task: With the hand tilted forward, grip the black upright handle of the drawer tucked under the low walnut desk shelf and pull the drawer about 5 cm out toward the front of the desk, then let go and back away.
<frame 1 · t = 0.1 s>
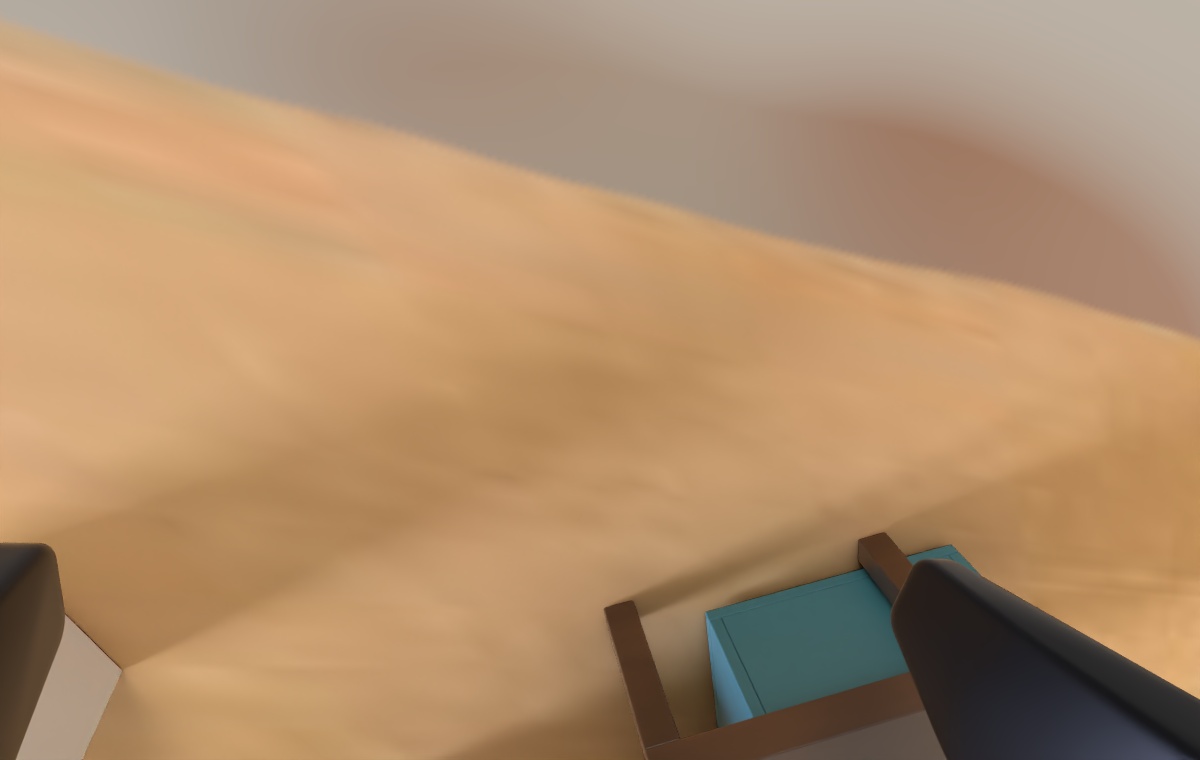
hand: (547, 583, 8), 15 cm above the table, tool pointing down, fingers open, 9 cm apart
shelf: (753, 668, 32), on the table
drawer: (945, 757, 27), point 6 cm above the table, slide at 0.0 cm
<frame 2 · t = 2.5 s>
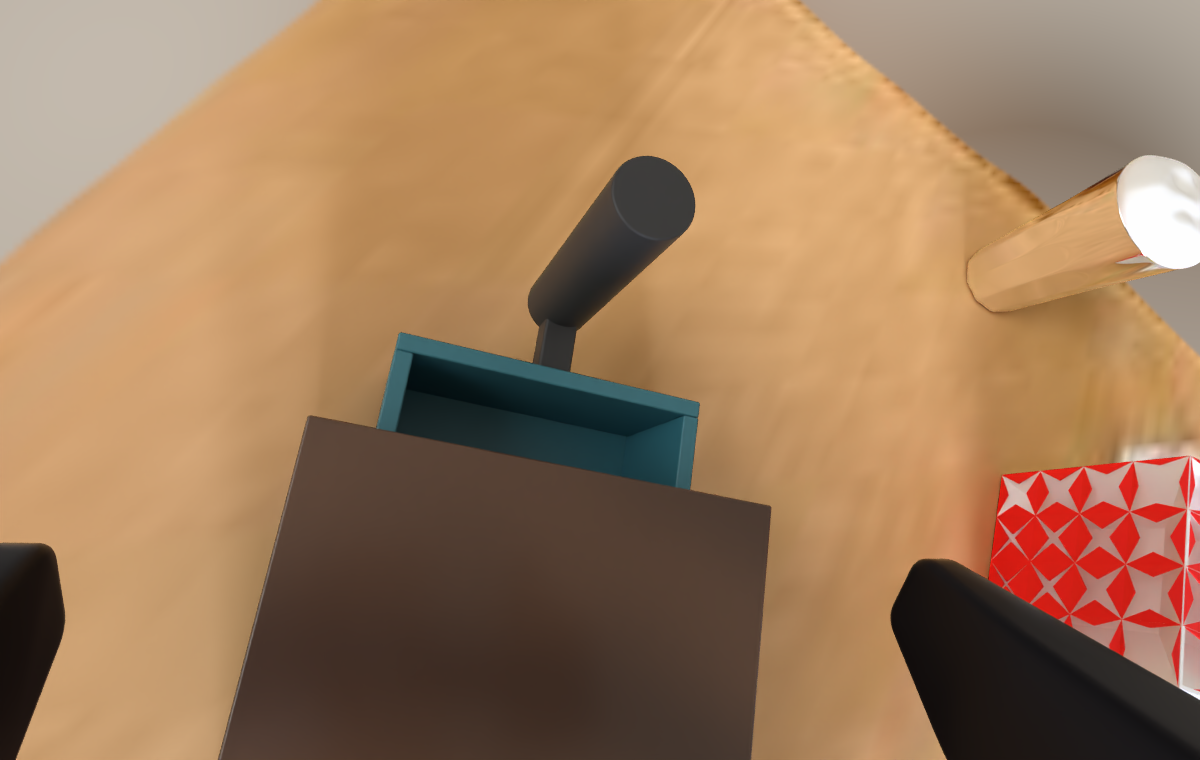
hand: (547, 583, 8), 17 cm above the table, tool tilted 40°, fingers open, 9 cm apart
red patterned cube box: (1053, 587, 33), on the table
shelf: (468, 668, 24), on the table
milkshake: (994, 282, 35), on the table
drawer: (541, 497, 19), point 6 cm above the table, slide at 0.0 cm
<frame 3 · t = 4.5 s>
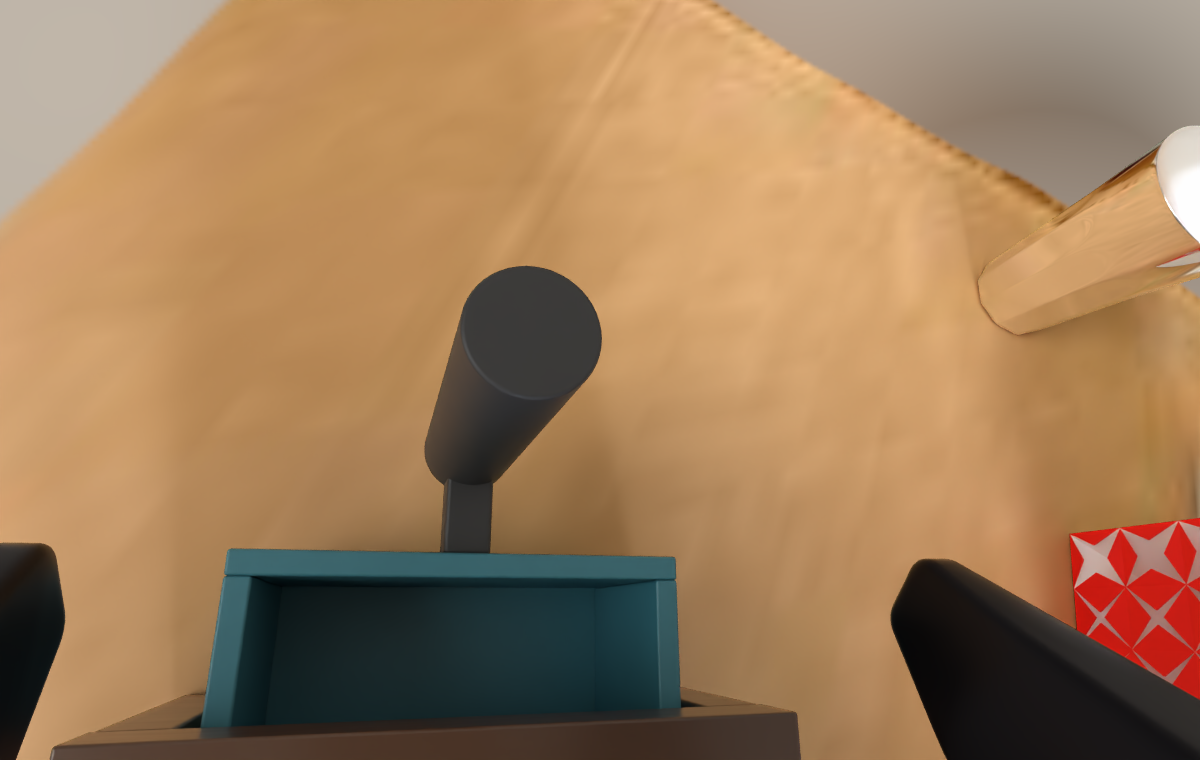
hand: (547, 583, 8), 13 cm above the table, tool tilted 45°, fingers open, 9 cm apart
red patterned cube box: (1159, 664, 26), on the table
milkshake: (1013, 299, 30), on the table
drawer: (462, 759, 13), point 6 cm above the table, slide at 0.0 cm
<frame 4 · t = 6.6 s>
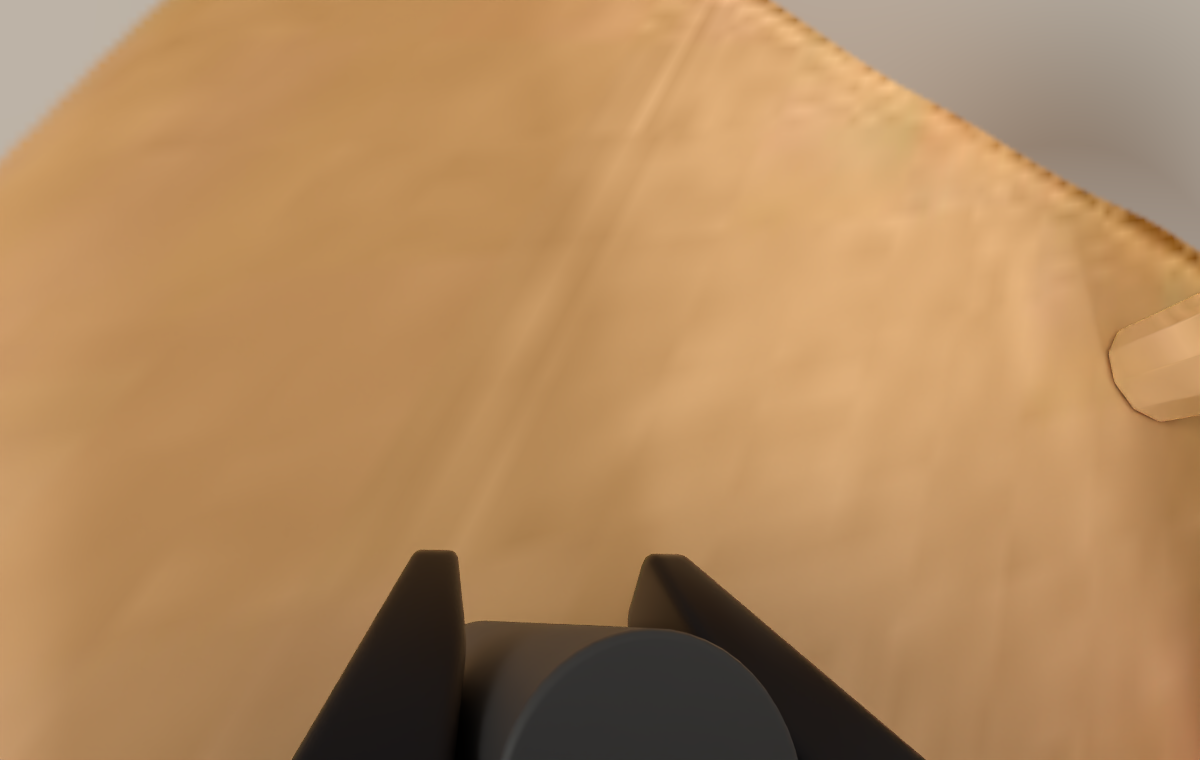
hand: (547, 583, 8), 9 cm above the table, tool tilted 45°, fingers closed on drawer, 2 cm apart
milkshake: (1148, 373, 24), on the table
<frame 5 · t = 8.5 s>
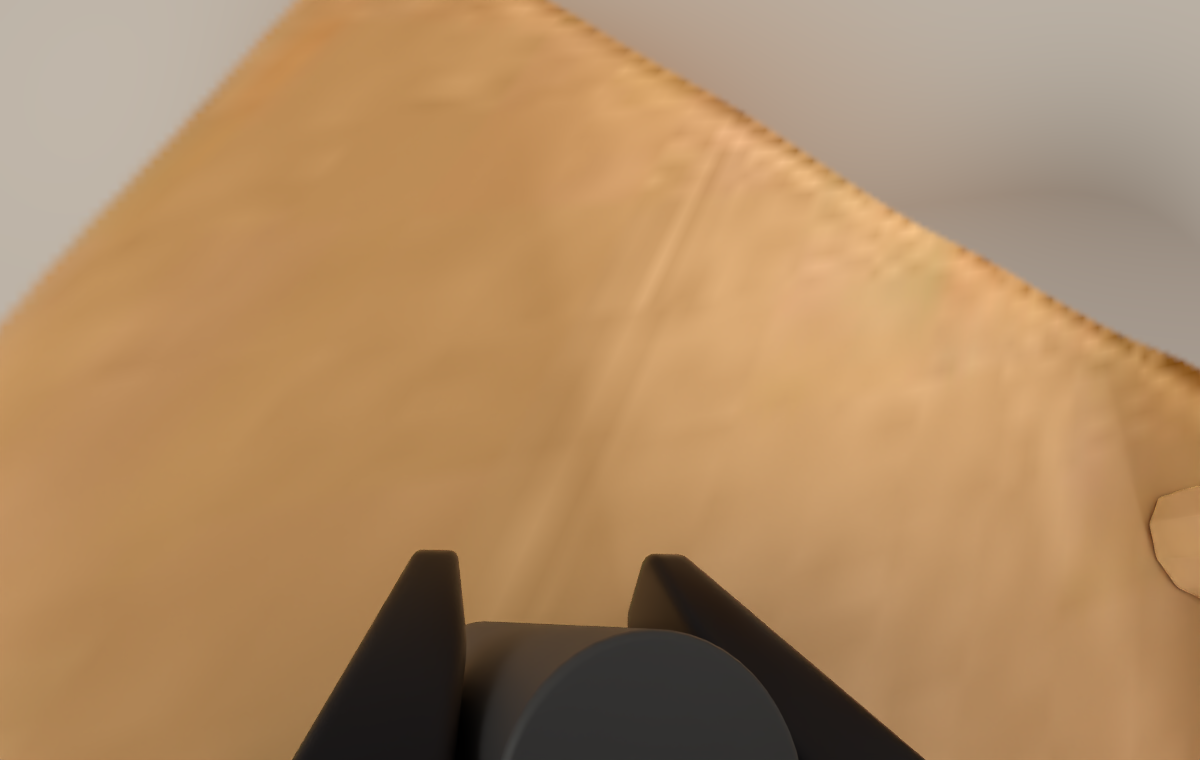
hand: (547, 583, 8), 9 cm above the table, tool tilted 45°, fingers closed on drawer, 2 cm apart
milkshake: (1191, 541, 22), on the table
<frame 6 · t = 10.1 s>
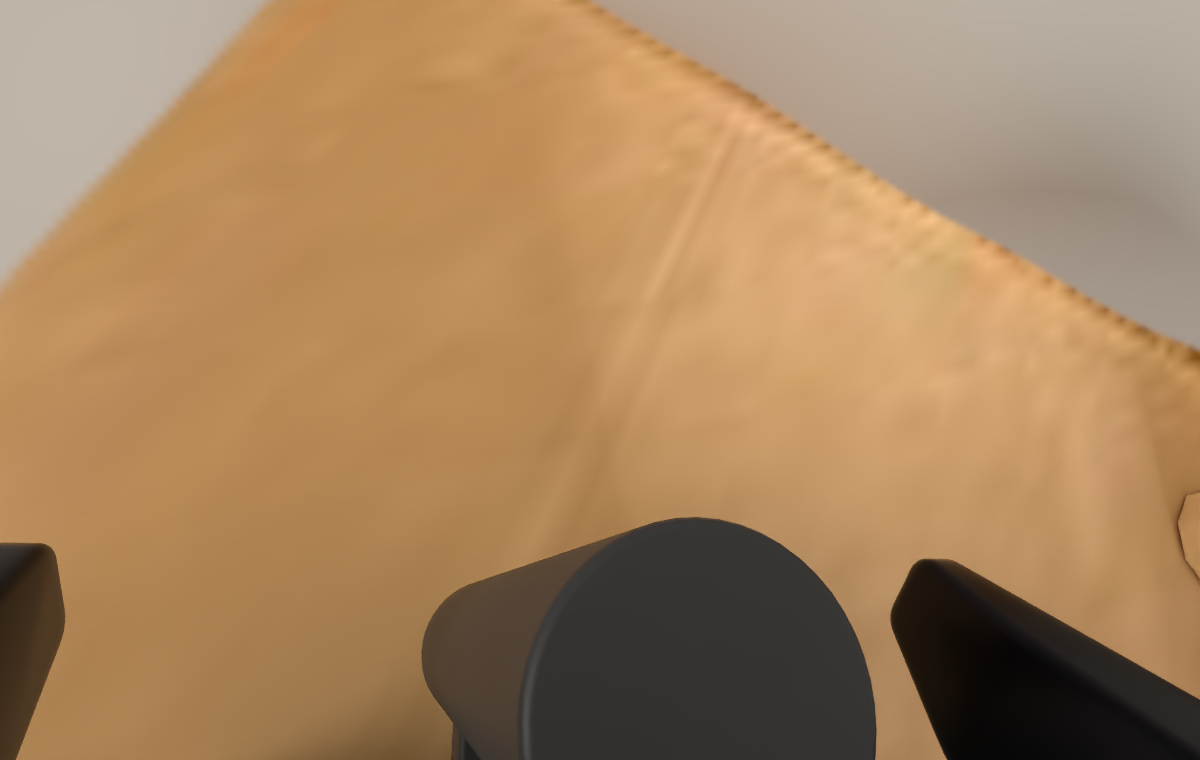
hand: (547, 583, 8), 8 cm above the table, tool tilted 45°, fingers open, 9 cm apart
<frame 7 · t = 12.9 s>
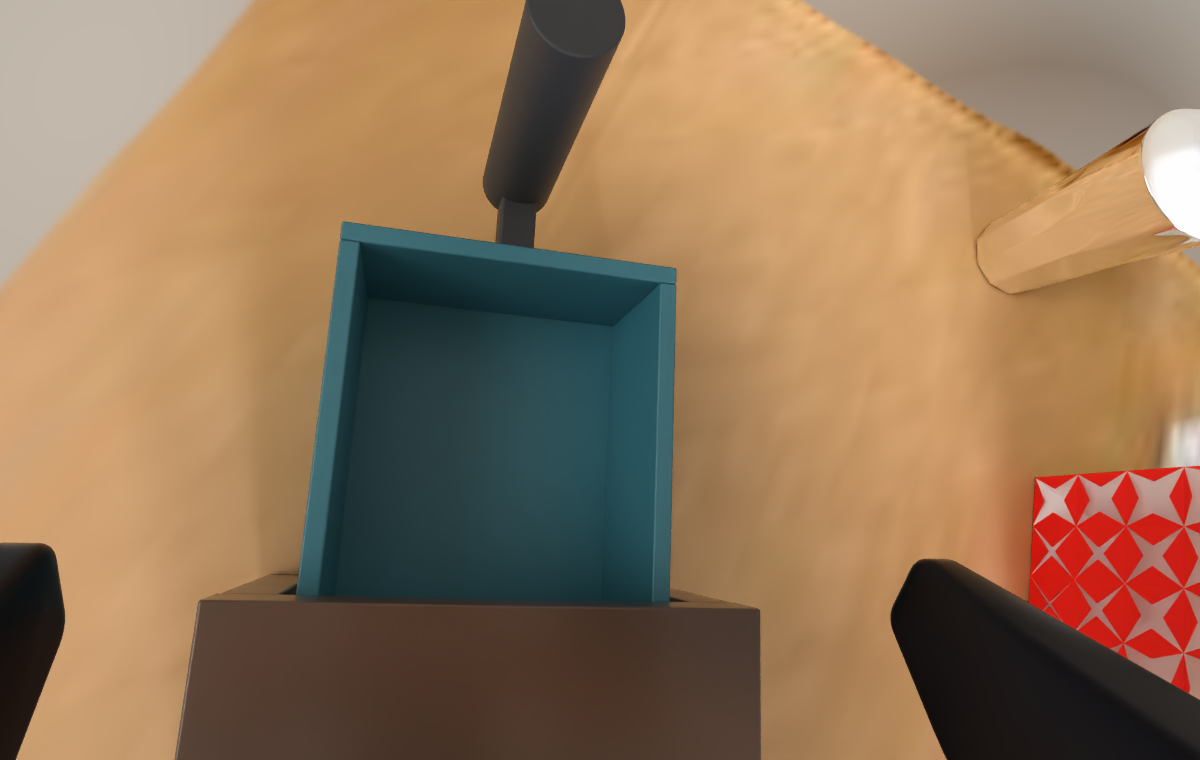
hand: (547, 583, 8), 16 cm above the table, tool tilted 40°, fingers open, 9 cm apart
red patterned cube box: (1104, 594, 29), on the table
milkshake: (1009, 259, 32), on the table
drawer: (512, 378, 18), point 6 cm above the table, slide at 6.1 cm
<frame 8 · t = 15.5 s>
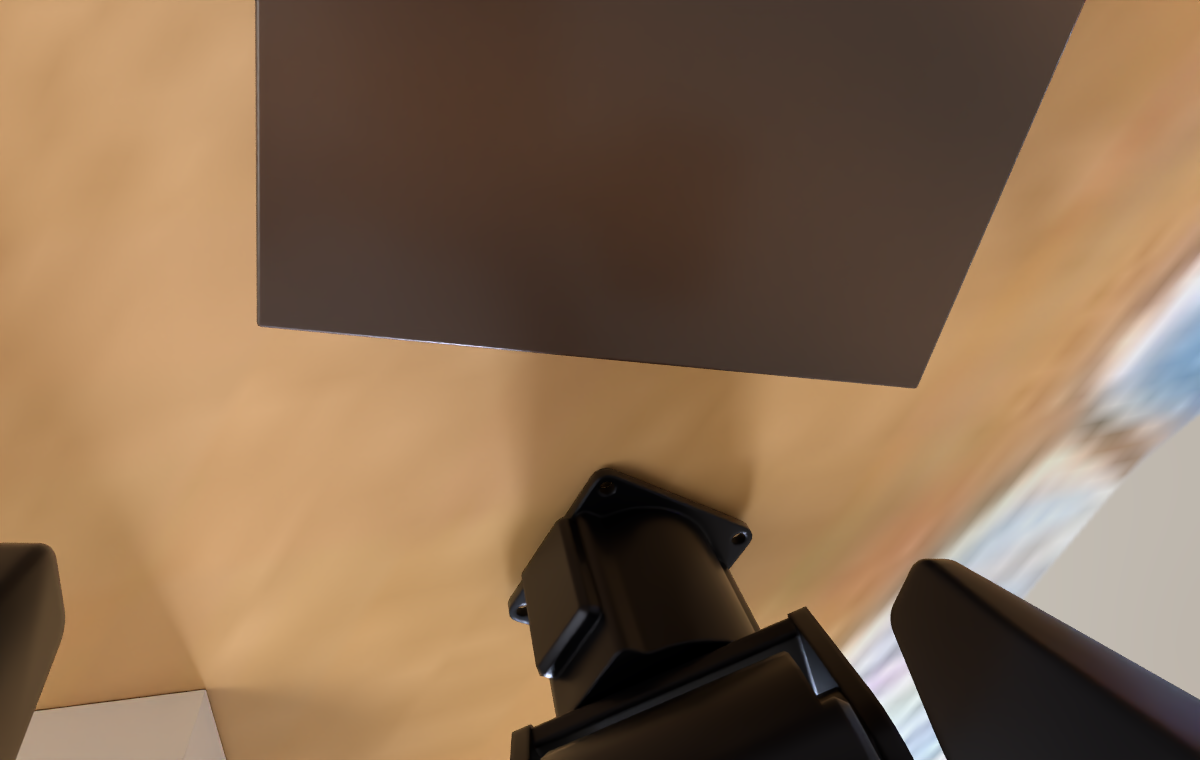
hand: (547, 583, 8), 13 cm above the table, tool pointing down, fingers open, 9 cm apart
adhesive note: (130, 756, 25), on the table
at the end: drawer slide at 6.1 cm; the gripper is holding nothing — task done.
